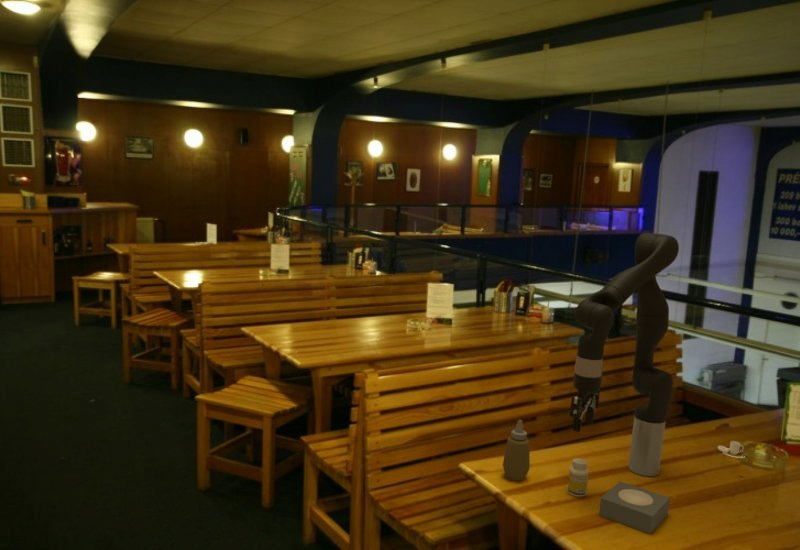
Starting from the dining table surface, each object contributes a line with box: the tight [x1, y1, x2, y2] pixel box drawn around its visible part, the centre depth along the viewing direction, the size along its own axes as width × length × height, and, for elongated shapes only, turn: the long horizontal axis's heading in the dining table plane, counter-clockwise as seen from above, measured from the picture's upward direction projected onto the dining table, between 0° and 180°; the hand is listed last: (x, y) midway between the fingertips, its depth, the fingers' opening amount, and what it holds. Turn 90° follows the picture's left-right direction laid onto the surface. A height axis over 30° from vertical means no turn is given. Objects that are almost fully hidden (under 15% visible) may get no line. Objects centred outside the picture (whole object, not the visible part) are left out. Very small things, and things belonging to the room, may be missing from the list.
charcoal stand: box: [598, 480, 671, 535], centre depth 188 cm, size 14×14×5 cm
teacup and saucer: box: [717, 440, 746, 459], centre depth 235 cm, size 9×8×4 cm
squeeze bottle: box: [502, 419, 531, 482], centre depth 206 cm, size 8×8×18 cm
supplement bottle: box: [567, 457, 590, 498], centre depth 198 cm, size 5×5×10 cm
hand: (582, 426), depth 196 cm, fingers open, 8 cm apart
